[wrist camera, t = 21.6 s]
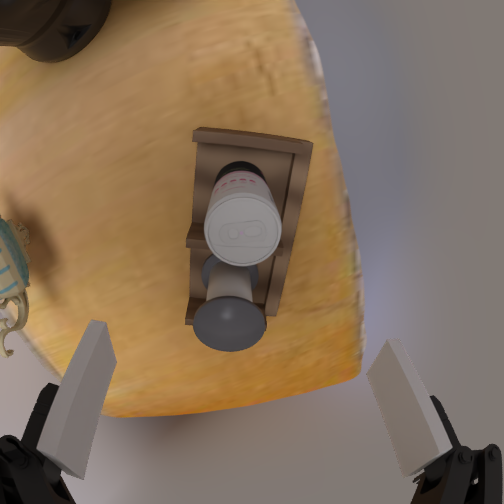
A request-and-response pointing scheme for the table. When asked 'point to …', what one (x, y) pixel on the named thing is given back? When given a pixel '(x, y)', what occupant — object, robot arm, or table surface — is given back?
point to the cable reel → (228, 307)
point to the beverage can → (242, 216)
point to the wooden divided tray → (282, 190)
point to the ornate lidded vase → (13, 276)
